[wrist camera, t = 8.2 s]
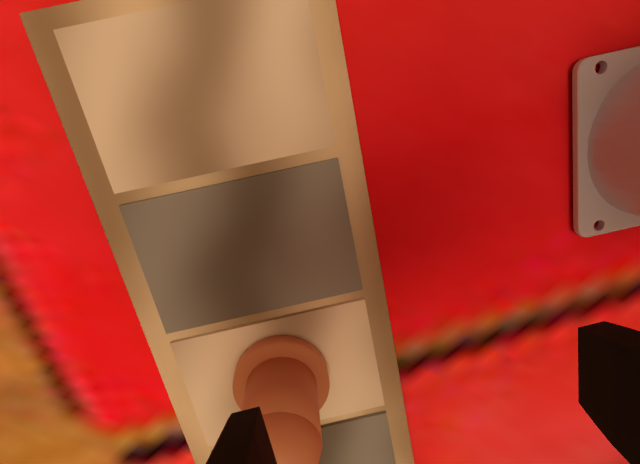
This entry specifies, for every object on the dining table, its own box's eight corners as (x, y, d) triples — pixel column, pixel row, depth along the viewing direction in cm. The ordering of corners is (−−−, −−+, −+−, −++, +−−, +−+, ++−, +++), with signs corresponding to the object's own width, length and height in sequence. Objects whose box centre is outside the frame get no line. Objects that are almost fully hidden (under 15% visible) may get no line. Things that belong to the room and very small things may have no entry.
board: (323, -41, 15) (327, -53, 14) (415, 486, 23) (422, 505, 22) (35, 19, 15) (15, 12, 14) (230, 529, 23) (227, 551, 22)
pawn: (317, 325, 18) (328, 413, 13) (336, 403, 20) (353, 512, 14) (223, 347, 18) (196, 444, 13) (248, 423, 20) (233, 540, 14)
